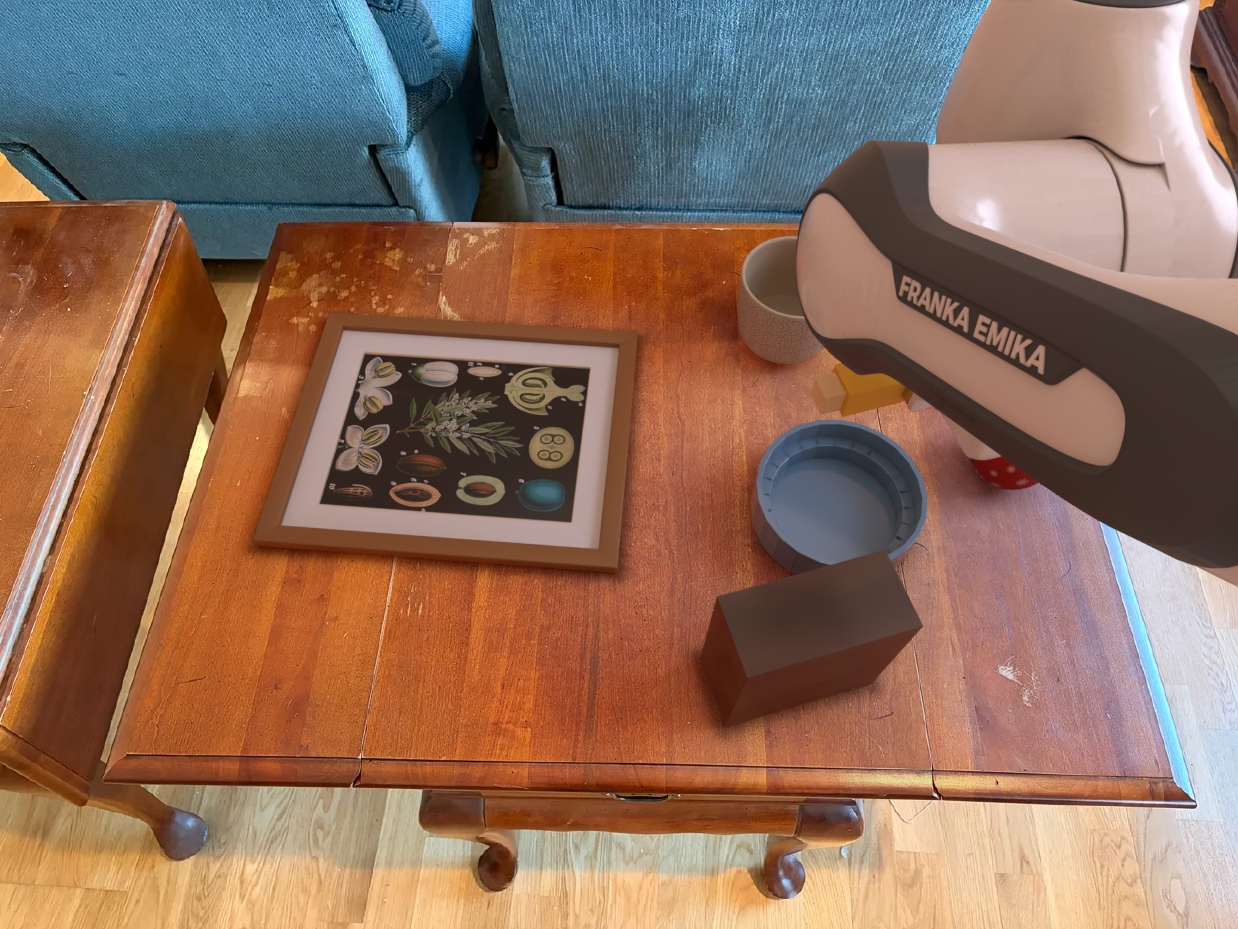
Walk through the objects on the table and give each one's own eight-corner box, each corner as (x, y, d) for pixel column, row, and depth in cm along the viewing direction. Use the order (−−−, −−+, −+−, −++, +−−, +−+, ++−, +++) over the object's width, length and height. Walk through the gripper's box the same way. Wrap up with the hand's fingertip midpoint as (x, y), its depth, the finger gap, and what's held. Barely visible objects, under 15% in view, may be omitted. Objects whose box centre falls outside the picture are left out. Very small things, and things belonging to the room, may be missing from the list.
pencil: (973, 350, 63) (987, 326, 61) (992, 379, 62) (1007, 355, 59) (806, 392, 61) (813, 369, 59) (821, 422, 60) (829, 400, 57)
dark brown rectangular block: (871, 683, 81) (923, 626, 67) (724, 728, 78) (747, 678, 65) (841, 617, 84) (885, 549, 70) (700, 658, 82) (716, 596, 68)
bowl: (939, 565, 87) (958, 542, 82) (785, 608, 84) (795, 587, 80) (869, 431, 95) (882, 403, 91) (726, 467, 93) (732, 441, 88)
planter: (709, 341, 102) (718, 278, 93) (770, 284, 107) (785, 219, 97) (792, 397, 98) (810, 337, 88) (852, 335, 102) (875, 272, 93)
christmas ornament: (1044, 505, 90) (1089, 458, 82) (963, 502, 91) (1000, 454, 82) (1028, 438, 95) (1069, 386, 86) (951, 435, 95) (985, 383, 86)
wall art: (329, 311, 102) (638, 331, 101) (332, 319, 104) (638, 339, 102) (251, 540, 87) (617, 568, 85) (257, 546, 88) (617, 573, 86)
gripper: (848, 136, 53) (806, 285, 65) (1011, 389, 44) (926, 509, 56) (938, 117, 54) (880, 268, 66) (1117, 361, 44) (1011, 486, 56)
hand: (902, 380), depth 61 cm, fingers closed on pencil, 3 cm apart
